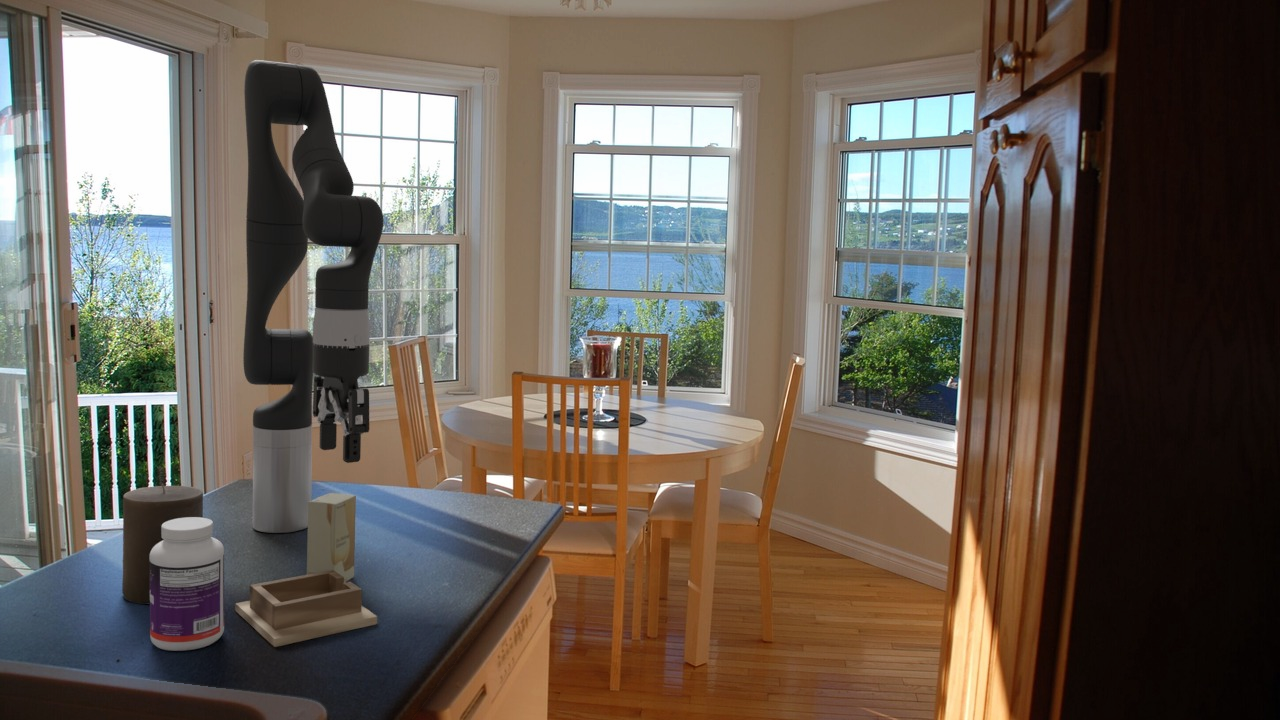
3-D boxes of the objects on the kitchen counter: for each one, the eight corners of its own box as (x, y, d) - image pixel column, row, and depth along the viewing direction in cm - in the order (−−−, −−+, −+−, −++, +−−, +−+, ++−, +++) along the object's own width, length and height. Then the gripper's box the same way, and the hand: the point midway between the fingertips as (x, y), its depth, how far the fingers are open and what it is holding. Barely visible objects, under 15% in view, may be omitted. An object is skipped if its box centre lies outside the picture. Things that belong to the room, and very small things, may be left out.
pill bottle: (166, 627, 119) (165, 513, 118) (233, 628, 120) (233, 514, 119) (138, 654, 111) (136, 532, 110) (210, 655, 112) (210, 533, 111)
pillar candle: (162, 609, 125) (162, 495, 123) (105, 596, 128) (105, 485, 127) (218, 587, 134) (220, 481, 132) (164, 576, 137) (165, 472, 136)
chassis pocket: (235, 610, 126) (235, 580, 125) (332, 591, 134) (332, 563, 134) (274, 647, 115) (274, 614, 115) (377, 624, 123) (377, 593, 123)
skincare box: (333, 590, 134) (334, 504, 133) (305, 587, 135) (306, 501, 134) (356, 576, 141) (357, 493, 139) (328, 572, 142) (329, 490, 140)
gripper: (295, 335, 137) (294, 448, 139) (334, 347, 126) (333, 469, 128) (347, 334, 142) (345, 443, 144) (388, 346, 131) (386, 463, 133)
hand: (339, 455), depth 136 cm, fingers open, 8 cm apart
